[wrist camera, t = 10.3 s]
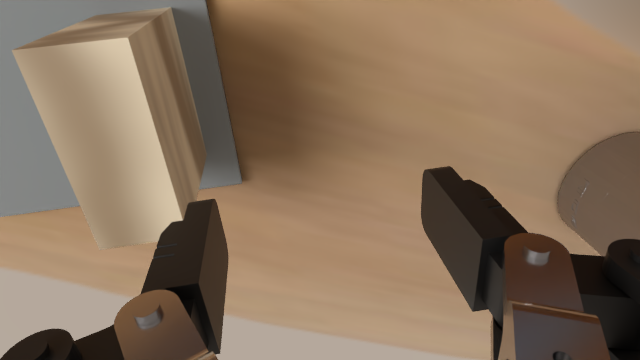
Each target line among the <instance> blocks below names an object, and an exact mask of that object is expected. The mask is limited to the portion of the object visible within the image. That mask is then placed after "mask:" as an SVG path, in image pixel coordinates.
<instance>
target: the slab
mask: <svg viewBox="0 0 640 360" xmlns="http://www.w3.org/2000/svg"><path fill="white" fill-rule="evenodd" d="M12 52H13V55H14V57H15V59H16V61H17V64H18V66H19V68H20V71H21V73H22V75H23V77H24V80H25V82H26V84H27V86H28V89H29V91H30V93H31V95H32V98H33V100H34V102H35V105H36V107H37V109H38V111H39V114H40V116H41V118H42V120H43V123H44V125H45V127H46V129H47V132H48V134H49V136H50V139H51V141H52V143H53V145H54V148H55V150H56V152H57V154H58V157H59V159H60V161H61V164H62V166H63V168H64V170H65V173H66V175H67V177H68V179H69V182H70V184H71V186H72V188H73V191H74V193H75V195H76V198H77V200H78V202H79V204H80V207H81V209H82V211H83V213H84V216H85V218H86V220H87V222H88V225H89V227H90V229H91V232H92V234H93V236H94V238H95V241H96V243H97V245H98V247H99V250H104V249H111V248H118V247H124V246H131V245H138V244H144V243H151V242H158V241H159V238H160V235H161V233H162V232H163V231H164V230H165V229H166V228H167V227H168V226H169V225H170V223H171V222H175V221H182V220H184V216H185V212H186V209H187V205H188V203H189V202H196V200H197V195H198V191H199V187H200V182H201V178H202V174H203V169H204V165H205V161H206V156H207V153H206V149H205V145H204V141H203V136H202V132H201V128H200V124H199V120H198V116H197V112H196V108H195V104H194V99H193V95H192V91H191V87H190V83H189V79H188V75H187V71H186V67H185V62H184V58H183V54H182V50H181V46H180V42H179V38H178V34H177V29H176V25H175V21H174V17H173V13H172V9H171V7H168V8H159V9H149V10H140V11H131V12H121V13H112V14H102V15H95V16H93V17H90V18H88V19H85V20H83V21H81V22H78V23H76V24H73V25H71V26H69V27H66V28H64V29H61V30H59V31H57V32H54V33H52V34H49V35H47V36H45V37H42V38H40V39H37V40H35V41H33V42H30V43H28V44H25V45H23V46H21V47H18V48H16V49H13V50H12Z"/></svg>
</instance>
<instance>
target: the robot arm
mask: <svg viewBox="0 0 640 360" xmlns="http://www.w3.org/2000/svg"><path fill="white" fill-rule="evenodd" d="M557 204H558V211H559V214H560V216H561V218H562V220H563V221H564V222H565V223H566V224H567V225H568V226H569V227H570V228H571V229H572V230H573V231H575V232H576V233H577V234H578V235H579V236H580V237H581V238H583V239H584V240H585V241H586V242H587V243H588V244H589V245H591V246H592V247H593V248H594V249H595V250H596V251H597V252H598V253H599V254H600V255H602V256H592V255H577V254H569V251H568V250H567V249H566V248H565V247H564V246H563V245H562V244H561V243H560V242H558V241H556V240H554V239H552V238H550V237H547V236H545V235H541V234H535V233H528V232H527V231H526V230H525V229H524V228H523V227H522V226H521V225H520V224H519V223H518V222H517V220H516V219H515V218H514V217H513V216H512V215H511V214H510V213H509V212H508V211H507V210H506V209H505V208H504V207H502V205H501V204H500V203H499V202H498V201H497V200H496V199H494V197H493V196H492V195H491V193H490V192H489V191H488V190H487V189H486V188H485V187H483V186H481V185H479V184H477V183H475V182H473V181H471V180H463V179H462V178H461V177H460V176H459V175H458V174H457V173H456V172H455V170H454V169H453V168H452V167H450V166H447V167H440V168H433V169H426V170H425V171H424V173H423V180H422V203H421V219H422V224H423V228H424V230H425V233H426V234H427V236H428V238H429V239H430V241H431V243H432V244H433V246H434V248H435V249H436V251H437V253H438V254H439V256H440V258H441V259H442V261H443V263H444V264H445V266H446V268H447V269H448V271H449V273H450V274H451V276H452V278H453V279H454V281H455V283H456V284H457V286H458V288H459V289H460V291H461V293H462V294H463V296H464V298H465V299H466V301H467V303H468V305H469V306H470V308H471V310H472V311H473V312H474V311H480V310H486V309H489V311H490V312H491V314H492V321H491V360H640V133H637V132H633V133H625V134H621V135H618V136H615V137H611V138H609V139H607V140H605V141H603V142H601V143H599V144H598V145H596V146H595V147H593V148H592V149H590V150H589V151H588V152H586V153H585V154H584V155H583V156H582V157H581V158H580V159H579V160H578V161H577V162H576V163H575V164H574V166H573V167H572V168H571V169H570V171H569V172H568V174H567V175H566V177H565V179H564V181H563V182H562V185H561V188H560V191H559V194H558V202H557ZM227 271H228V249H227V243H226V238H225V234H224V230H223V226H222V222H221V218H220V214H219V210H218V206H217V203H216V200H215V199H210V200H203V201H196V202H189V203H188V205H187V209H186V212H185V216H184V220H182V221H175V222H171V223H170V225H169V226H168V227H167V228H166V229H165V230H164V231H163V232H162V233H161V235H160V238H159V241H158V244H157V249H156V250H155V253H154V256H153V259H152V262H151V265H150V268H149V271H148V274H147V277H146V280H145V283H144V286H143V288H142V291H141V294H140V295H139V296H137V297H135V298H133V299H132V300H130V301H129V302H128V303H126V304H125V305H124V306H123V307H122V308H121V309H120V311H119V312H118V314H117V316H116V318H115V321H114V325H112V326H110V327H108V328H106V329H104V330H101V331H99V332H96V333H93V334H91V335H89V336H86V337H83V338H81V339H79V340H76V341H74V340H73V338H72V336H71V335H70V333H69V332H67V331H65V330H62V329H48V330H44V331H40V332H37V333H35V334H33V335H30V336H28V337H26V338H25V339H23V340H21V341H20V342H18V343H17V344H15V346H13V347H12V348H10V349H9V350H8V351H7V352H6V353H5V354H4V355H3V357H2V358H1V359H0V360H218V359H217V357H216V356H215V354H220V349H221V338H222V326H223V315H224V304H225V293H226V282H227Z"/></svg>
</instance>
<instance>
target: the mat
mask: <svg viewBox="0 0 640 360" xmlns="http://www.w3.org/2000/svg"><path fill="white" fill-rule="evenodd" d="M168 7H171V9H172V13H173V17H174V21H175V25H176V29H177V34H178V38H179V42H180V46H181V50H182V54H183V58H184V62H185V67H186V71H187V75H188V79H189V83H190V87H191V91H192V95H193V99H194V104H195V108H196V112H197V116H198V120H199V124H200V128H201V132H202V136H203V141H204V145H205V149H206V153H207V156H206V161H205V165H204V169H203V174H202V178H201V182H200V187H199V189H206V188H213V187H220V186H227V185H235V184H242V177H241V172H240V167H239V162H238V157H237V152H236V147H235V142H234V137H233V132H232V127H231V122H230V117H229V112H228V107H227V102H226V97H225V92H224V87H223V82H222V77H221V73H220V68H219V63H218V58H217V53H216V48H215V43H214V38H213V33H212V28H211V23H210V18H209V13H208V8H207V3H206V0H0V217H3V216H11V215H18V214H25V213H32V212H40V211H47V210H54V209H61V208H68V207H76V206H80V204H79V202H78V200H77V198H76V195H75V193H74V191H73V188H72V186H71V184H70V182H69V179H68V177H67V175H66V173H65V170H64V168H63V166H62V164H61V161H60V159H59V157H58V154H57V152H56V150H55V148H54V145H53V143H52V141H51V139H50V136H49V134H48V132H47V129H46V127H45V125H44V123H43V120H42V118H41V116H40V114H39V111H38V109H37V107H36V105H35V102H34V100H33V98H32V95H31V93H30V91H29V89H28V86H27V84H26V82H25V80H24V77H23V75H22V73H21V71H20V68H19V66H18V64H17V61H16V59H15V57H14V55H13V52H12V50H13V49H16V48H18V47H21V46H23V45H25V44H28V43H30V42H33V41H35V40H37V39H40V38H42V37H45V36H47V35H49V34H52V33H54V32H57V31H59V30H61V29H64V28H66V27H69V26H71V25H73V24H76V23H78V22H81V21H83V20H85V19H88V18H90V17H93V16H95V15H102V14H112V13H121V12H131V11H140V10H149V9H159V8H168Z"/></svg>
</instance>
